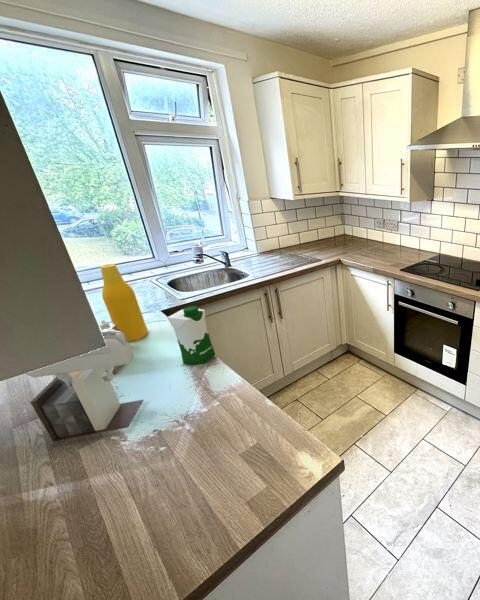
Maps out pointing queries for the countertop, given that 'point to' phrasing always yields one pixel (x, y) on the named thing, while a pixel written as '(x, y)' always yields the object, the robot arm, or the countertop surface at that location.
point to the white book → (96, 397)
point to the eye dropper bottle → (104, 325)
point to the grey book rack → (74, 412)
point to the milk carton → (192, 335)
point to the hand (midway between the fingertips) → (92, 382)
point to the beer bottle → (122, 304)
